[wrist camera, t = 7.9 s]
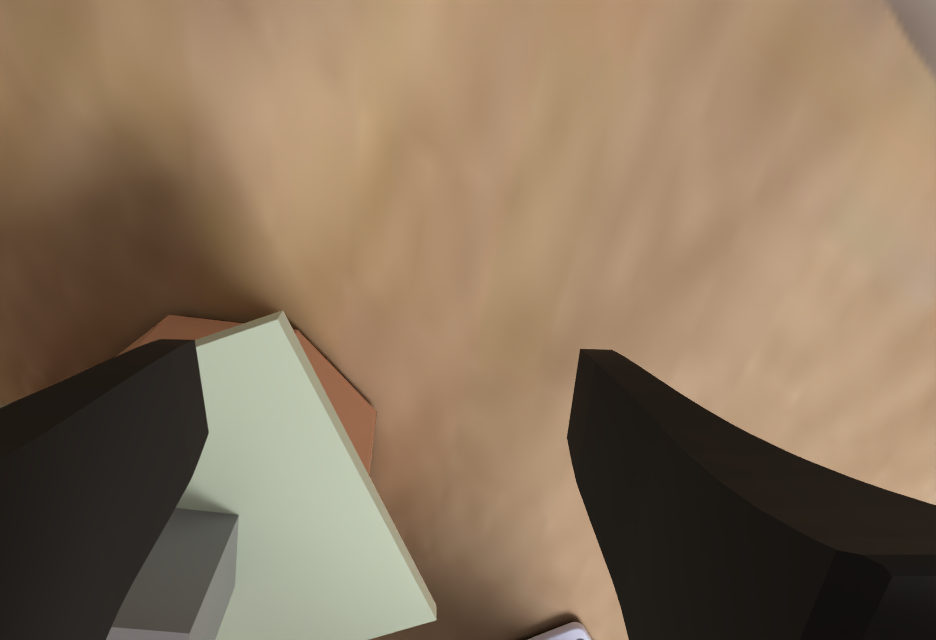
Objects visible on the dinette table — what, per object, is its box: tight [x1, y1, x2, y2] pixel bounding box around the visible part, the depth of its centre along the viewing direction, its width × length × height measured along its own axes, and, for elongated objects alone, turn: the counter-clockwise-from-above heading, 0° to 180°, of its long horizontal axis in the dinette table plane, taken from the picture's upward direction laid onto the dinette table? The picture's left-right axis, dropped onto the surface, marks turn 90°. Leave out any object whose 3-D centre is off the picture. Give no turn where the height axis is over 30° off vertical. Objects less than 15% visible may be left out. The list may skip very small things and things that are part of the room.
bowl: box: [117, 315, 377, 477], centre depth 21 cm, size 11×11×5 cm
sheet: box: [0, 310, 436, 640], centre depth 17 cm, size 12×12×5 cm
